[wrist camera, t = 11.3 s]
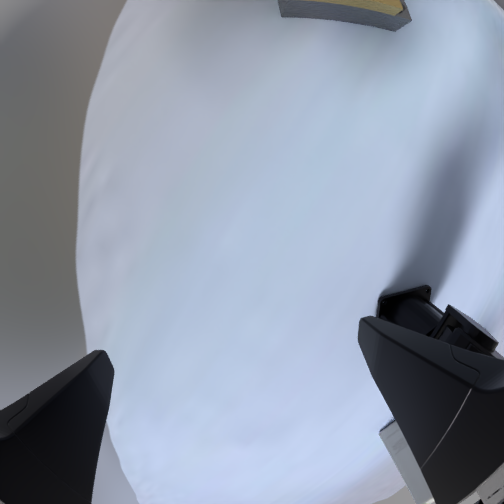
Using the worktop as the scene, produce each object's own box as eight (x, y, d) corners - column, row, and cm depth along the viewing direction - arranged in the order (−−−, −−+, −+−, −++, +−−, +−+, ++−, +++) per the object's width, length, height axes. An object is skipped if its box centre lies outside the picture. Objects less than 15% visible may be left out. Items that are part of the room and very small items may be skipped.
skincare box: (377, 432, 31) (414, 508, 16) (412, 405, 30) (459, 479, 15) (394, 442, 33) (427, 506, 19) (425, 419, 32) (464, 481, 18)
